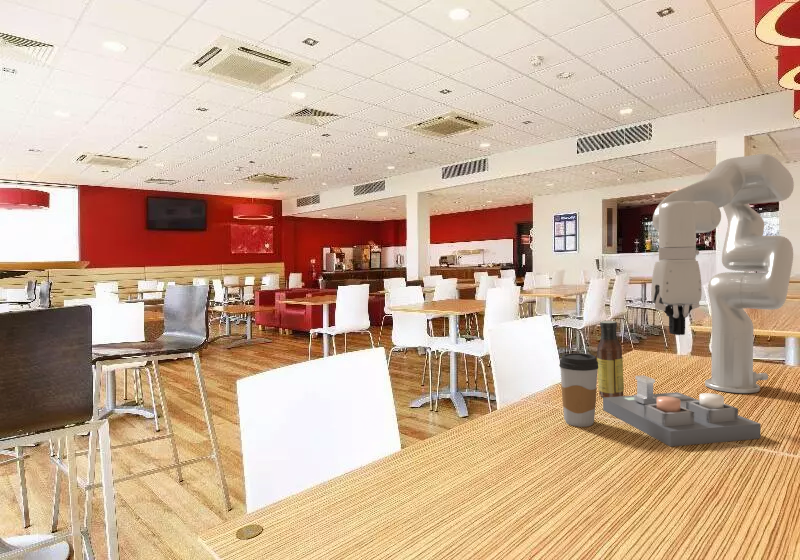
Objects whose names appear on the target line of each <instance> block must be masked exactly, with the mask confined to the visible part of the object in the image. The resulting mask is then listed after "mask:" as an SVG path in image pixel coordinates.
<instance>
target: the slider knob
mask: <svg viewBox="0 0 800 560" xmlns="http://www.w3.org/2000/svg"><path fill="white" fill-rule="evenodd" d="M635 380H636V386H637V387H636V388H637V389H636V394H633V395H634V400H636V401H638V402H640V403H642V404H653V403H656V398H655V397H653V394H654V384H655V383H656V378H652V377H649V376H646V375H642V374H641V375H635Z"/></svg>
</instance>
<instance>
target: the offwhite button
mask: <svg viewBox="0 0 800 560" xmlns="http://www.w3.org/2000/svg"><path fill="white" fill-rule="evenodd" d="M724 399H725V397H724V396H723V395H721V394H717V393H711V392H708V393H707V392H704V393H699V399H698V400H699V405H700V406H703V407H705V408H708V409H720V408H724V404H725V400H724Z"/></svg>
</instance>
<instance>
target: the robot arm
mask: <svg viewBox="0 0 800 560" xmlns="http://www.w3.org/2000/svg"><path fill="white" fill-rule="evenodd" d="M794 185H795V182H794V178H793V176H792V173H791V171H789V169H788V168H786V166H784V164H782V162H781V161H779V160H778V159H777V158H776V157H775V156H773V155H770V154H767V153H759V154H758V153H757V154H753V155H752V154H751V155H747V156H746V155H744V156H738V157H732V158H730V157H729V158H727V159H724V160H722V161H720V162H718V163H717V164H715V166H714V167H713V168H712V169H711V170H710V171H709V172H708V173H707V174H706V176H704V177H703V179H702V180H699V181H697V182H694V183H691V184H690V185H688V186H686V187H683V188H680V189H678V190H675V191H674V192H672V193H670V194H669V195H667V196H666V197H664V199H663V200H661V202H659V204H658V205H657V206H656V208H655V210H654V212H653V215H652V224H653V227H654V229H655V231H656V232H658V261H655V264H654V267H653V272H652V278H651V289H650V291H651V292H650V297H651V302H652V303H654V309H655V310H658V311H663V312H664V314H665V315H666V317H667V318H668V329H669V330H668V332H669V334H670V335H671V334H672V335H675V336H684V335H686V318H688V316H689V313H690V312H691V311H692V310H695V309H697V308H700V302H701V301H702V294H703V292H702V291H703V290H702V288H703V287H702V276H701V269H700V265H699V261H698V260H697V256H699V254H700V250H699V249H697V246H696V245H697V234H703V233H709V232H712V231H714V230H715V229H717V227H718V226H719V225H720V223H721V221H722V211H721V210H720V208H723V210H724V213H725V216H726V219H727V227H726V228H727V229H726V234H725V238H724V241H723V242H724V243H723V246H722V247H723V248H722V254H721V264H722V265H723V267H724V268H726V269H727V270H730V272H727V271H726V272H721V273H717V274H715V275H713V276H712V277H711V278H710V279H709V281H708V284H707V293H708V297H709V303H710V309H711V378H707V379H705V380H704V385H705V387H707V388H710V389H713V390H715V391H720V392H726V393H734V394H755V393H758V392H760V391H761V389H760V387H761V386H760V385H759V384H758V383H757V382H758V381H767V380H768V379H769V375H768V373H767V372H758V373H757V371H754V330H755V329H754V323H753V320H752V319H751V317H750V316H749V315H748V313H747V312H746V311H745V310H744V309H751V310H752V309H753V310H771V311H772V310H778V309H780V308H782V307H783V306H784V304H785V302H786V300H787V297H788V293H789V292H788V290H789V285H790V279H791V274H792V273H791V272H792V270H793V269H792V268H793V262H794V261H793V260H794V247H793V245H792V242H791V240H789V239H788V238H787V237H785V236H782V235H764V229H765V221H764V219H763V218H762V216H761V215H760V214H759V212H757V211H756V210H755V209H754V208H752V207H751V206H750V204H752V205H753V204H764V203H765V204H766V203H777V202H783V201H785V200H787V199H789V198H790V197H791V195H792V193H793V192H794V187H795V186H794ZM731 271H732V272H731ZM736 271H737V272H736Z"/></svg>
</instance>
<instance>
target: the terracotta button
mask: <svg viewBox="0 0 800 560" xmlns="http://www.w3.org/2000/svg"><path fill="white" fill-rule="evenodd" d="M657 409H658V410H661V411H663V412H665V413H669V412H681V400H680V399H678V398H675V397H668V396H660V397H657Z"/></svg>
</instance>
